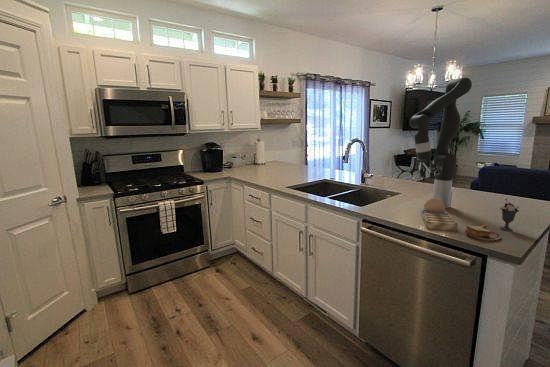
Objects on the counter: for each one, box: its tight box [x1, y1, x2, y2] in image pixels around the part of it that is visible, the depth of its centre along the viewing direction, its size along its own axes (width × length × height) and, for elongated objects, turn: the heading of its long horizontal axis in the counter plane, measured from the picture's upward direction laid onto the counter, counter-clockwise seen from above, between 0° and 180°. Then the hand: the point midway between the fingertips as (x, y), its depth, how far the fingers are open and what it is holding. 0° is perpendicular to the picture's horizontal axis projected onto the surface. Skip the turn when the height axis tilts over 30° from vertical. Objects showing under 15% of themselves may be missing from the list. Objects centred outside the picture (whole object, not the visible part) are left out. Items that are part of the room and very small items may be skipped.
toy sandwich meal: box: [464, 224, 501, 242], centre depth 123 cm, size 12×14×5 cm
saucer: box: [423, 197, 446, 213], centre depth 147 cm, size 10×2×10 cm, turn 70°
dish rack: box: [421, 213, 458, 232], centre depth 138 cm, size 13×13×4 cm
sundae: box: [499, 198, 520, 232], centre depth 128 cm, size 7×7×15 cm
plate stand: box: [419, 208, 449, 218], centre depth 148 cm, size 12×6×4 cm, turn 70°
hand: (427, 177), depth 156 cm, fingers open, 8 cm apart
